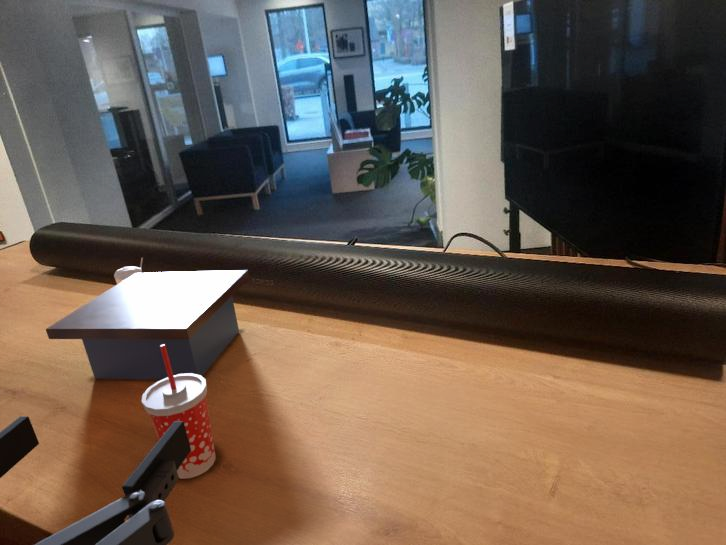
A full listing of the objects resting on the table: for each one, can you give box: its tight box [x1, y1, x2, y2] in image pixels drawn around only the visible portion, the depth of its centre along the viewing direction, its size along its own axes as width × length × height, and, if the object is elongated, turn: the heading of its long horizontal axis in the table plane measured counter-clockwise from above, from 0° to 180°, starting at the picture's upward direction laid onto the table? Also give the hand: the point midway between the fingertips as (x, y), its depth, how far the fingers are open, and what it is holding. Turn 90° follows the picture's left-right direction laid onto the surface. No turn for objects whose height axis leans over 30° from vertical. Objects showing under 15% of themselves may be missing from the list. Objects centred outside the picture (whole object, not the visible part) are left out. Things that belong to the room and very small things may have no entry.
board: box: [45, 269, 250, 340], centre depth 72 cm, size 20×20×2 cm
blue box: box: [81, 295, 240, 381], centre depth 73 cm, size 16×14×8 cm
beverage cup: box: [141, 344, 217, 480], centre depth 49 cm, size 6×6×14 cm
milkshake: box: [113, 257, 144, 285], centre depth 88 cm, size 5×5×10 cm
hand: (104, 432), depth 39 cm, fingers open, 13 cm apart
